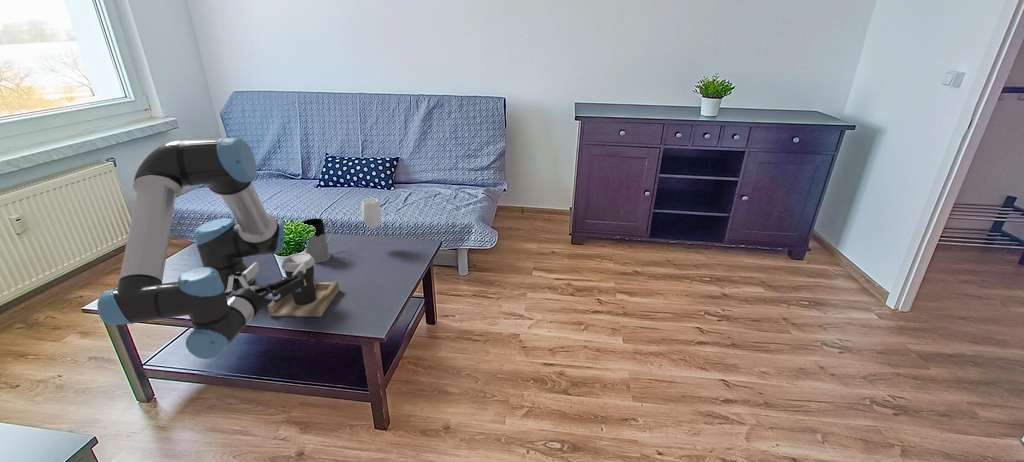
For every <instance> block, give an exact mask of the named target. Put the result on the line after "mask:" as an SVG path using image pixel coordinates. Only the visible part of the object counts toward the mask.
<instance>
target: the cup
mask: <svg viewBox="0 0 1024 462" xmlns="http://www.w3.org/2000/svg"><path fill="white" fill-rule="evenodd" d="M361 215H362V219H363V222H364V224H365V226H366V227H368V228H370V229H371V230H374V229H376V228H378V226H380V224H381V221H382V210H381V205H380V201H379V199H377V198H373V197H371V198H365V199H363V200H362V201H361Z"/></svg>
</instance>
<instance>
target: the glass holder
mask: <svg viewBox="0 0 1024 462" xmlns="http://www.w3.org/2000/svg"><path fill="white" fill-rule="evenodd" d="M328 220H330V223H331V228H330V229H331V230H330V234H329V237H328V239H327V235H326V230H327V228H326V222H327V221H328ZM302 223H304V224H308V225H313V226H314V227H315V228H316V232H315V234H314V235H313V237H312V238H311V239H310V241H309V243H308V245H307V248H306V247H305V251H306V252H305V253H307V254H310V255H311V257H312V258H313V259H314V261H315V263H314V264H316V263H323V262H325V261H327V260H329V259H330V258H331V254H330V251H329V246H328V244H329V242H330V240H331V238H332V236H333V232H334V222H333V219H332V218H330V217H326V218H325V219H324V220H323V219H321V218H309V219H306V220H304V221H302V222H301V224H302Z"/></svg>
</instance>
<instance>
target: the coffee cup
mask: <svg viewBox="0 0 1024 462" xmlns="http://www.w3.org/2000/svg"><path fill="white" fill-rule="evenodd" d="M302 263H305V268H306V272H305V273H304V277H303V278H304V283H305V285H304V286H303V287H301V288H299V289H297V290H295V291H294V292H292V295H293V298H294V302H295V303H296V304H297V305H307V304H310V303H312V302H314V301H315V300H316V289H315V282H316V279H315V267H314V265H315V264H316V263H315V261H314V259H313V258H312V257H311V255H310V254H307V252H297V253H293V254H291V255H288V256H286V257H285V258H284V259H283V262H282V263H281V269H282V270H283V271H284V274H285V276H286V279H287V278H289V277H292V274H293V273H294V271H295V270H296V269H297V268H298V267H299V266H300V265H301V264H302Z"/></svg>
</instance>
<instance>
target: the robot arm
mask: <svg viewBox="0 0 1024 462" xmlns="http://www.w3.org/2000/svg"><path fill="white" fill-rule="evenodd" d="M257 169H258V168H257V162H256V160H255V156H254V153H253V151H252V148H251V147H250V145H249V144H248V142H246V141H245V140H244V139H241V138H239V137H226V136H225V137H220V138H219V137H218V138H215V137H214V138H201V139H185V140H183V139H180V140H179V139H178V140H172V141H168V142H166V143H164V144H161V145H160V146H158V147H157V148H155V149H154V150H152V151H151V152H150V153H149V154H148V155H147V156H146V157H145V158H144V159H143V161H142V162H141V164H140V165H139V166H138V169H137V170H136V172H135V175H134V179H133V182H132V187H133V190H134V192H135V193H136V194H135V201H134V206H133V211H132V215H131V219H130V220H131V221H130V226H129V230H128V235H127V241H126V245H125V250H124V253H123V260H122V265H121V270H120V274H119V279H118V284H117V287H116V288H112V289H108V290H104V291H103V292H102V293H101V295H100V296H99V297H98V300H97V303H96V305H97V307H96V308H97V313H98V316H99V318H100V320H101V321H102V322H104V323H105V324H107V325H110V326H119V325H130V324H131V325H133V324H136V323H142V322H149V321H153V320H161V319H171V318H178V317H185V316H188V317H189V319H190V322H191V325H192V328H193V330H191V331H190V332H189V335H187V337H186V339H185V346H186V349H187V351H188V352H189V353H190V354H191V355H193V356H194V357H196V358H199V359H202V360H212V359H215V358H216V357H218V356H219V355H220V354H222V352H223V351H224V350H226V349H227V348H228V347H229V346H230V344H231V343H232V342H233V341H234V340H235V339H236V337H237V336H238V335H239V334H240V333H241V332H242V331H243V329H244V328H245V327H246V326H247V325H248V324H249V323H250V321H252V319H253V318H255V316H256V315H257V314H258V313H259V312H260V311H261V309H262V308H263V305H264V303H266V302H267V301H269V300H274V302H278V301H279V300H281V299H282V298H283V297H285V296H286V295H288V294H290V293H292V292H294V291H295V290H297V289H299V288H301V287H303V286H304V285H305V283H304V278H303V277H304V273H305V272H306V268H305V263H302V264H301V265H300V266H299V267H298V268H297V269H296V270H295V271H294V273H293V274H292V277H289V278H287V277H286V278H285V279H281V280H278V281H277V282H274V283H271V282H269V283H265V284H264V285H256V284H254V282H255V279H254V277H255V275H257V274H258V272H259V271H260V267H259V263H258V262H257V261H254V262H253V263H252V264H251V265H250V266H249V267H248V266H247V264H246V263H245V261H244V259H243V258H248V257H257V256H265V255H276V254H279V253H278V252H280V251H282V250H283V248H284V227H285V221H284V219H282V218H276V217H275V216H273V215H272V214H270V213H268V212H267V211H266V209H265V207H264V205H263V203H262V201H261V199H260V197H259V195H258V192H257V190H256V188H255V187H254V185H253V181H254V180H255V179H256V177H257V171H258V170H257ZM203 185H204V186H205V185H206V186H207V187H208V188H209V189H208V190H209V191H211V192H213V193H214V194H217V195H220V197H221V198H222V200H223V201H224V203H225V205H226V206H227V208H228V209H229V211H230V213H231V214H232V216H233V218H234V219H235V220H236V222H237V223H236V222H235V221H234V219H232V218H229V217H223V218H222V217H221V218H218V219H214V220H210V221H208V222H205V223H204V224H203V223H202V224H201V225H200V226H198V227H197V228H195V231H194V238H195V239H194V240H195V245H196V247H197V251H198V253H199V257H200V260H201V263H202V266H201V267H200V266H198V267H196V268H192V269H188V270H186V271H184V272H183V273H182V274H180V276H179V277H178V278H177V281H173V282H164V283H163V280H164V279H163V278H164V273H165V267H166V266H165V265H166V261H167V253H168V248H169V241H170V236H171V229H172V223H173V217H174V211H175V205H176V199H178V198H179V197H180V196H181V195H182V193H183V188H185V187H189V186H191V187H192V186H203ZM285 228H286V227H285ZM253 284H254V285H253ZM268 289H269V290H268Z"/></svg>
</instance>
